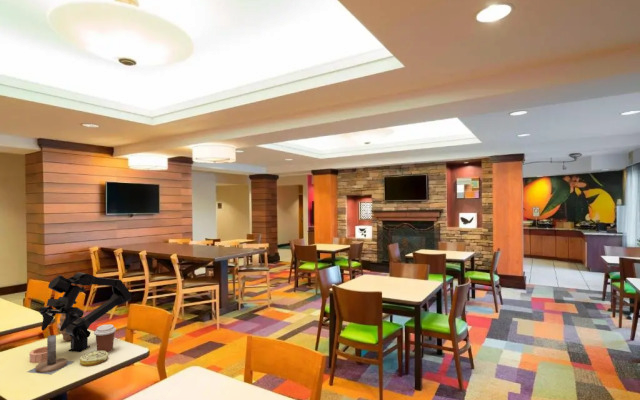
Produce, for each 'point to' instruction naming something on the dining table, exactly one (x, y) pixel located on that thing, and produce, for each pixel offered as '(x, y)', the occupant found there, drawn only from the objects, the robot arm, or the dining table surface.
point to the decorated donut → (93, 358)
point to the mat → (52, 371)
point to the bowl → (38, 355)
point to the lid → (51, 358)
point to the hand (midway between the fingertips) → (51, 330)
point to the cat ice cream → (65, 335)
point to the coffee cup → (105, 337)
